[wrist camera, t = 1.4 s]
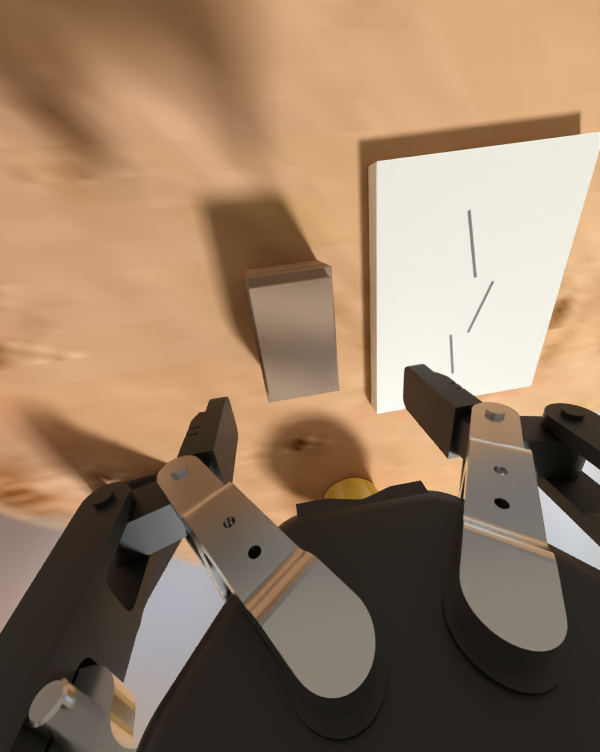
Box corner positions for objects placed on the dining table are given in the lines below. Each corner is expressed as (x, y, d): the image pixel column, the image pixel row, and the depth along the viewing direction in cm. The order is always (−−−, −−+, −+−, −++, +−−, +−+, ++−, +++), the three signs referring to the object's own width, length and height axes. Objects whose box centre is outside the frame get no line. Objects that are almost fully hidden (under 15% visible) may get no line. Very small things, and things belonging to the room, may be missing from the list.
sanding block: (246, 269, 22) (242, 280, 16) (316, 260, 22) (334, 267, 17) (266, 372, 26) (268, 408, 21) (325, 363, 26) (341, 395, 21)
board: (368, 166, 20) (376, 161, 18) (581, 138, 20) (605, 131, 19) (371, 404, 29) (376, 413, 27) (518, 378, 30) (531, 385, 28)
